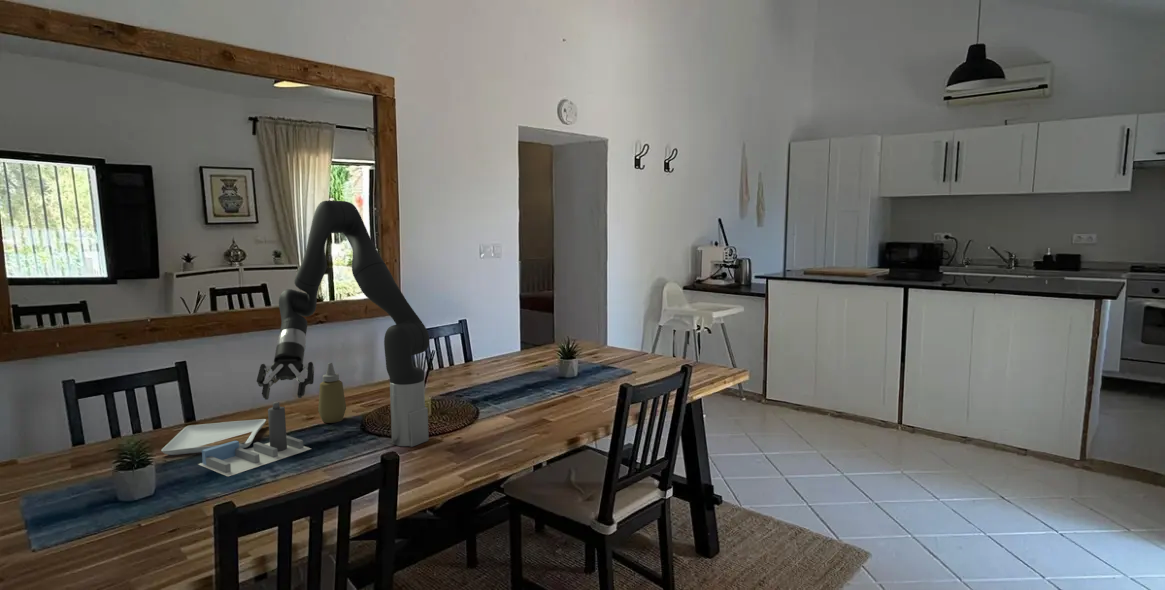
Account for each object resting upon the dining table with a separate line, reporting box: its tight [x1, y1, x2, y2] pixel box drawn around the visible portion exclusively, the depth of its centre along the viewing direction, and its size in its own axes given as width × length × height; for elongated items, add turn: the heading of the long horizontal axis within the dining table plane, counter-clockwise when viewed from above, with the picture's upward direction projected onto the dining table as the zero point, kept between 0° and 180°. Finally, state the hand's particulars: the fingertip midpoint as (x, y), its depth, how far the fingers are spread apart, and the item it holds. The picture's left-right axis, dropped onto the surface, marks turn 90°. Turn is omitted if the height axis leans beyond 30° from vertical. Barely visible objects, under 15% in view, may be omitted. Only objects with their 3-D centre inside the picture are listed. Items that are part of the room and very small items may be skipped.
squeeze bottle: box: [317, 362, 347, 424], centre depth 195 cm, size 8×8×18 cm
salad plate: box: [161, 418, 267, 456], centre depth 176 cm, size 21×21×3 cm
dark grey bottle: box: [267, 401, 287, 452], centre depth 168 cm, size 4×4×13 cm
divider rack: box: [197, 434, 312, 477], centre depth 163 cm, size 14×22×4 cm, turn 147°
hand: (282, 397), depth 174 cm, fingers open, 8 cm apart
